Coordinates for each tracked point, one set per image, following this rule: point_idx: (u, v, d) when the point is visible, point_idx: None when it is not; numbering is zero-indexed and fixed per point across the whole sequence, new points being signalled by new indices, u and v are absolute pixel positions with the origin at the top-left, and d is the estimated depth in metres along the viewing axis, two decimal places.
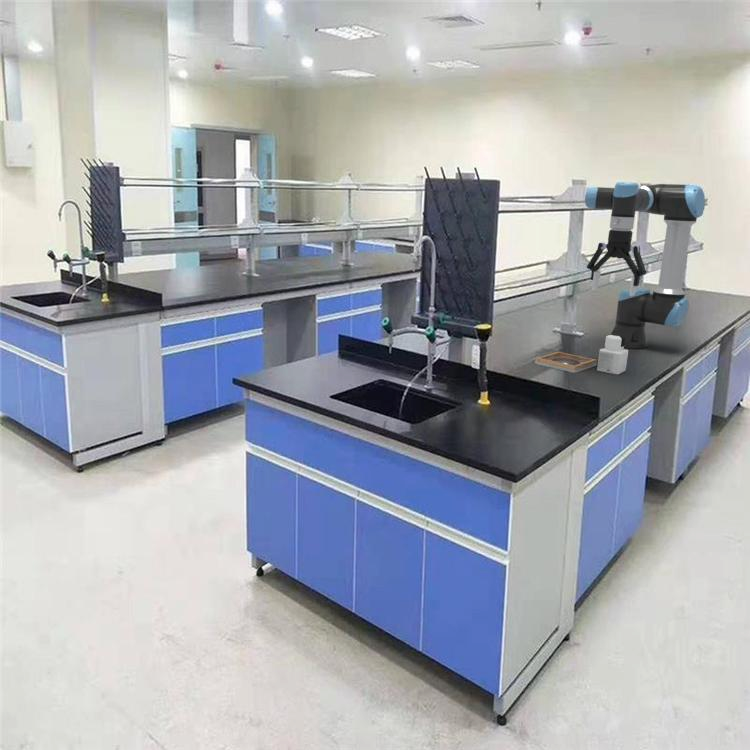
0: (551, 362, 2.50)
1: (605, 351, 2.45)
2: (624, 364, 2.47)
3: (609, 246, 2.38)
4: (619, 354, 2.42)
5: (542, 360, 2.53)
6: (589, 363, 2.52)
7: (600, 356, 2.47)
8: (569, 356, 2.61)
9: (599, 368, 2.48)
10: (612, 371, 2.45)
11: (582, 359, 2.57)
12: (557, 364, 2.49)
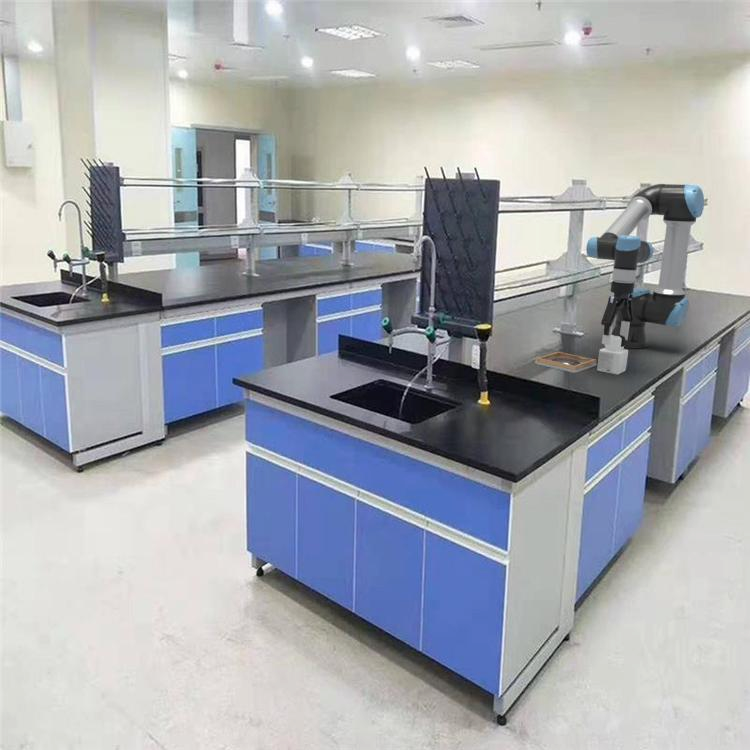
0: (551, 362, 2.50)
1: (605, 351, 2.45)
2: (624, 364, 2.47)
3: None
4: (619, 354, 2.42)
5: (542, 360, 2.53)
6: (589, 363, 2.52)
7: (600, 356, 2.47)
8: (569, 356, 2.61)
9: (599, 368, 2.48)
10: (612, 371, 2.45)
11: (582, 359, 2.57)
12: (557, 364, 2.49)
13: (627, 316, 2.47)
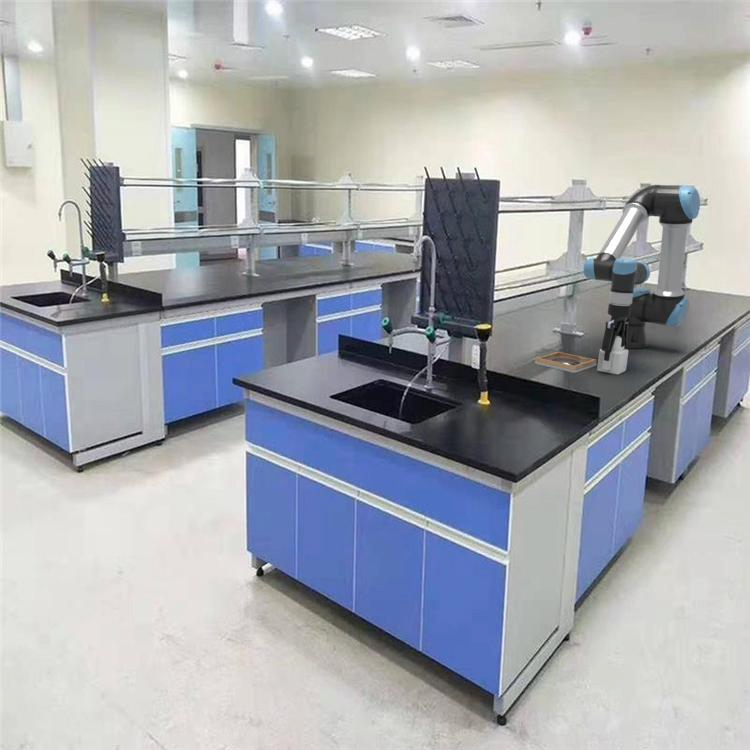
0: (551, 362, 2.50)
1: None
2: (624, 364, 2.47)
3: None
4: (619, 354, 2.42)
5: (542, 360, 2.53)
6: (589, 363, 2.52)
7: (600, 356, 2.47)
8: (569, 356, 2.61)
9: (599, 368, 2.48)
10: (612, 371, 2.45)
11: (582, 359, 2.57)
12: (557, 364, 2.49)
13: None
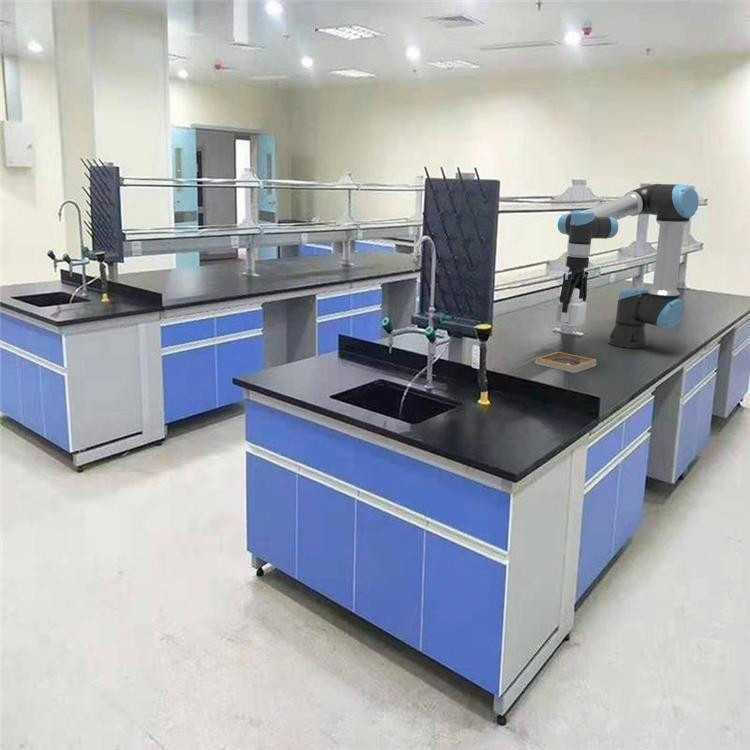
0: (551, 362, 2.50)
1: None
2: (583, 316, 2.49)
3: None
4: (577, 306, 2.44)
5: (542, 360, 2.53)
6: (589, 363, 2.52)
7: (559, 308, 2.48)
8: (569, 356, 2.61)
9: (558, 320, 2.49)
10: (570, 323, 2.47)
11: (582, 359, 2.57)
12: (557, 364, 2.49)
13: None
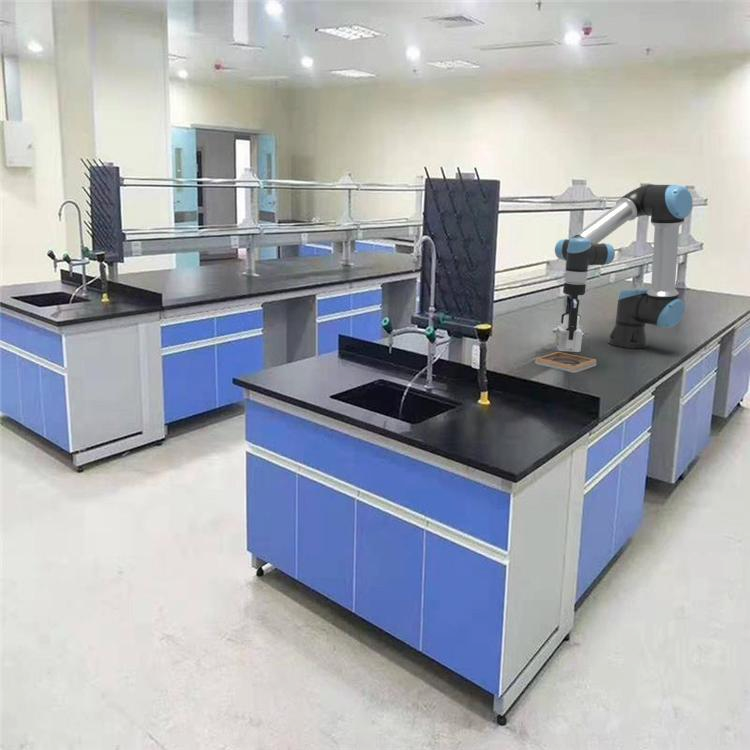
0: (551, 362, 2.50)
1: None
2: None
3: (569, 297, 2.52)
4: (581, 332, 2.48)
5: (542, 360, 2.53)
6: (589, 363, 2.52)
7: (562, 336, 2.49)
8: (569, 356, 2.61)
9: (561, 348, 2.50)
10: (575, 349, 2.49)
11: (582, 359, 2.57)
12: (557, 364, 2.49)
13: None
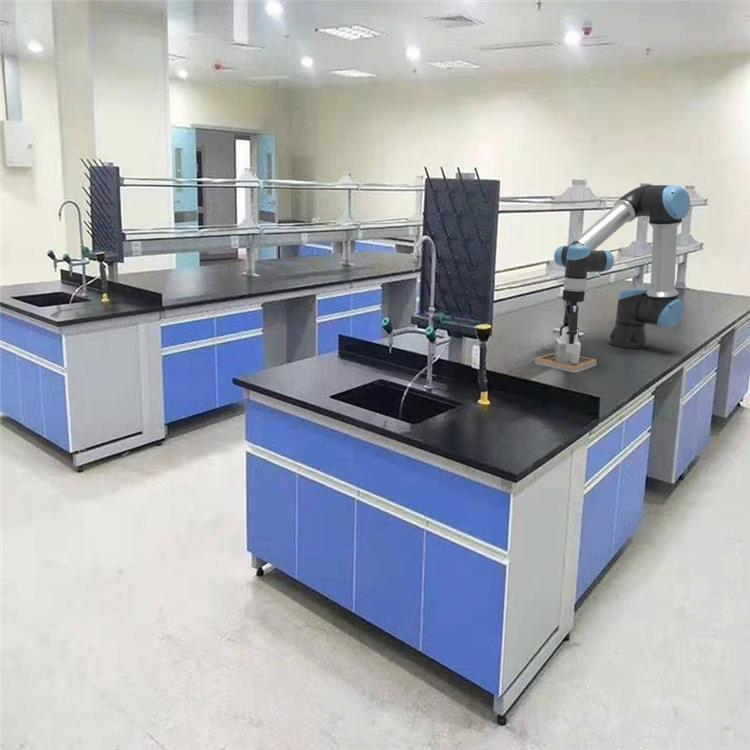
0: (551, 362, 2.50)
1: (565, 343, 2.49)
2: None
3: (568, 304, 2.52)
4: (579, 344, 2.49)
5: (542, 360, 2.53)
6: (589, 363, 2.52)
7: (560, 349, 2.50)
8: None
9: (559, 360, 2.51)
10: (573, 362, 2.51)
11: (582, 359, 2.57)
12: (557, 364, 2.49)
13: None
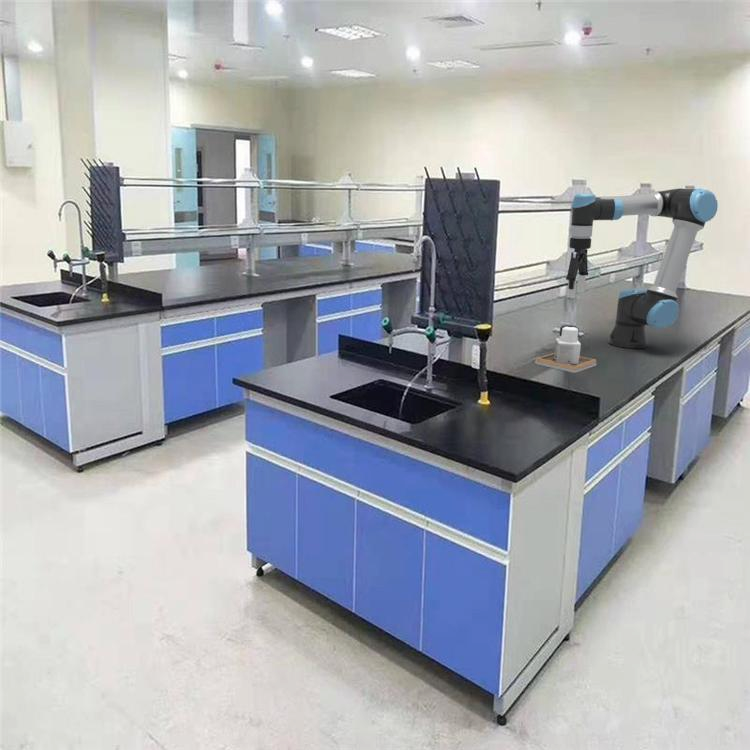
0: (551, 362, 2.50)
1: (565, 343, 2.49)
2: None
3: None
4: (579, 344, 2.49)
5: (542, 360, 2.53)
6: (589, 363, 2.52)
7: (560, 349, 2.50)
8: None
9: (559, 360, 2.51)
10: (573, 362, 2.51)
11: (582, 359, 2.57)
12: (557, 364, 2.49)
13: (583, 270, 2.63)
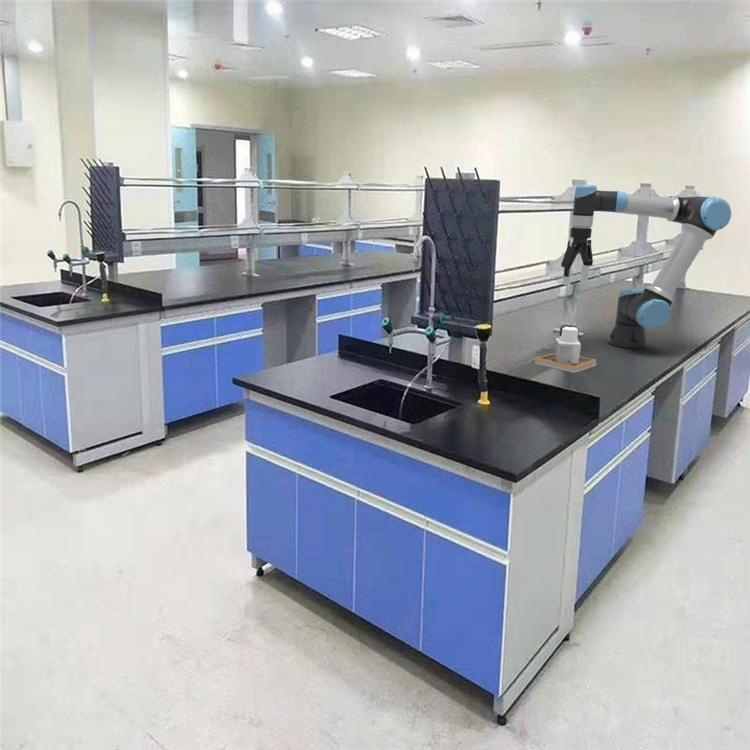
0: (551, 362, 2.50)
1: (565, 343, 2.49)
2: None
3: None
4: (579, 344, 2.49)
5: (542, 360, 2.53)
6: (589, 363, 2.52)
7: (560, 349, 2.50)
8: None
9: (559, 360, 2.51)
10: (573, 362, 2.51)
11: (582, 359, 2.57)
12: (557, 364, 2.49)
13: (586, 260, 2.69)
